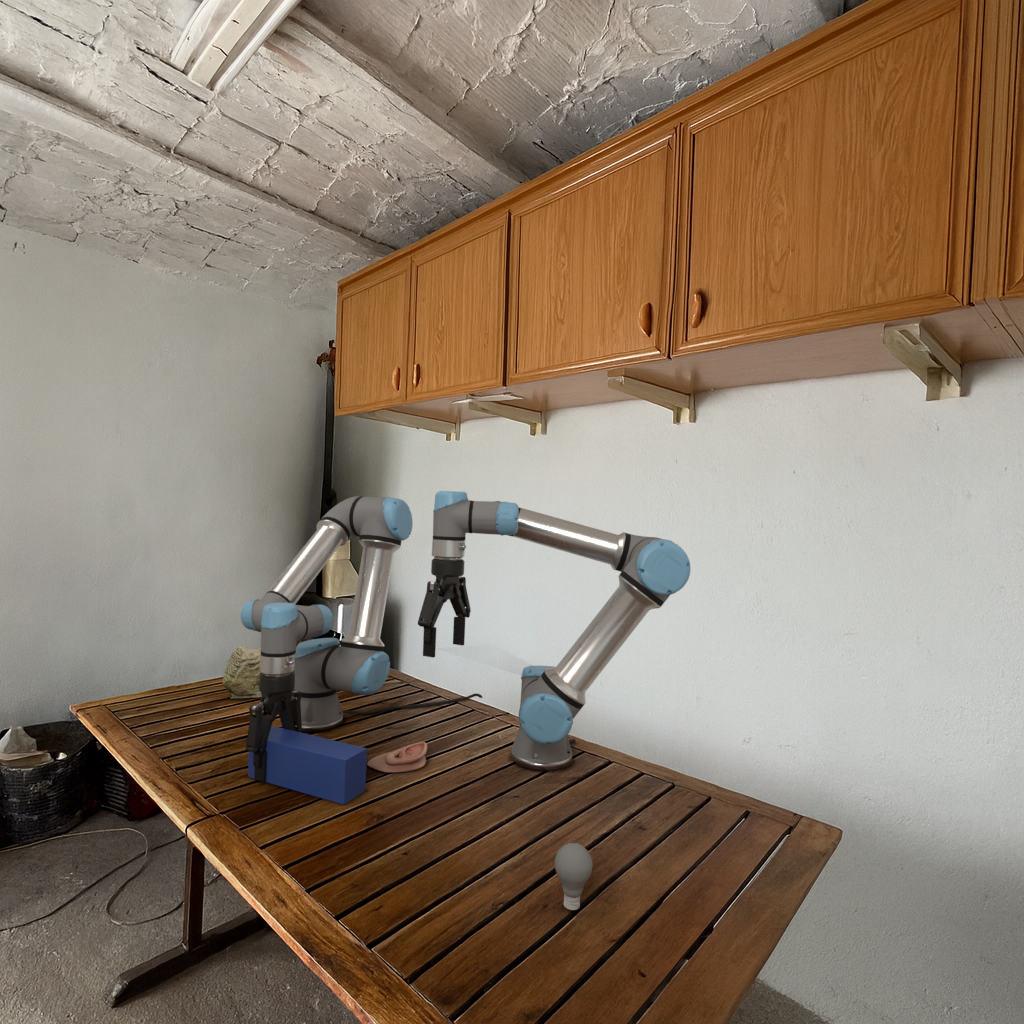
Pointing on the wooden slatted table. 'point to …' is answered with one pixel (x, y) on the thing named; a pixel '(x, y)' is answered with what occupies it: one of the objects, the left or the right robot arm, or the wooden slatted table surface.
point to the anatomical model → (401, 759)
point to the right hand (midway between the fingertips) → (444, 650)
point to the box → (314, 765)
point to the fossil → (243, 673)
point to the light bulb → (573, 872)
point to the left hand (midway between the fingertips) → (273, 773)
